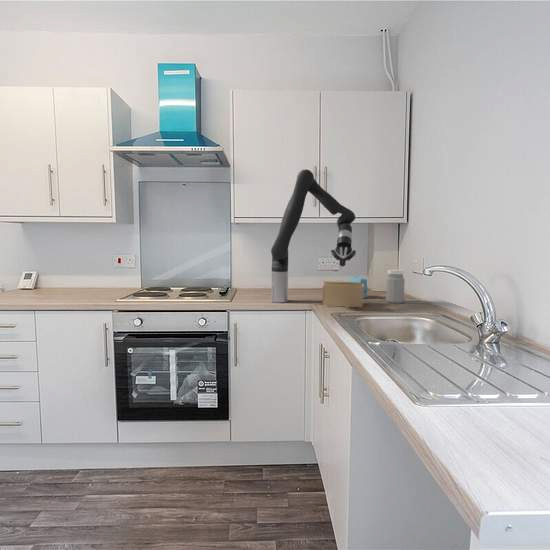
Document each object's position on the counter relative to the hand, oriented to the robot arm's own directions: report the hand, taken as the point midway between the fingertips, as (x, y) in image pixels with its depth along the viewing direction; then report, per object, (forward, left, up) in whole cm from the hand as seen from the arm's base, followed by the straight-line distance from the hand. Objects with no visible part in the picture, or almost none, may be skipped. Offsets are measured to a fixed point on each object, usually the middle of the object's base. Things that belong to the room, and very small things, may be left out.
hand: (342, 265), depth 197 cm
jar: (+34, +21, -23) cm, 46 cm away
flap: (+2, +9, -11) cm, 14 cm away
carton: (+4, +16, -22) cm, 28 cm away
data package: (+18, +40, -23) cm, 49 cm away
